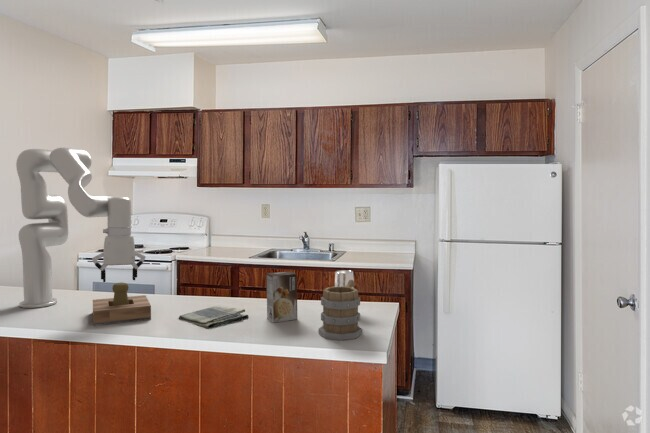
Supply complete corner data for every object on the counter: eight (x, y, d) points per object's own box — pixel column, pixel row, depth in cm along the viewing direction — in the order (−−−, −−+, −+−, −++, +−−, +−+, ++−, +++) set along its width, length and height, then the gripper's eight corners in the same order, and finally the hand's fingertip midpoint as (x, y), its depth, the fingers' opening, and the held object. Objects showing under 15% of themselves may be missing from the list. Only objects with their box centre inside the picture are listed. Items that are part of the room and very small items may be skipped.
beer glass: (356, 311, 177) (356, 270, 176) (349, 315, 170) (349, 273, 170) (339, 309, 180) (339, 269, 179) (331, 313, 173) (331, 272, 173)
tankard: (352, 342, 141) (353, 292, 140) (313, 337, 145) (313, 288, 145) (372, 324, 159) (373, 280, 158) (337, 320, 164) (337, 277, 163)
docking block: (93, 312, 173) (92, 299, 172) (145, 307, 181) (145, 295, 180) (93, 325, 157) (92, 311, 156) (151, 319, 164) (150, 305, 164)
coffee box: (290, 315, 170) (290, 270, 169) (297, 319, 165) (297, 273, 164) (266, 318, 166) (266, 272, 165) (272, 323, 160) (272, 275, 160)
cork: (123, 316, 165) (122, 285, 164) (107, 315, 166) (107, 284, 166) (133, 312, 171) (133, 281, 170) (119, 311, 172) (118, 281, 172)
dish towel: (176, 320, 165) (176, 311, 165) (219, 310, 179) (219, 302, 179) (208, 330, 153) (208, 320, 153) (251, 319, 167) (251, 310, 167)
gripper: (91, 233, 160) (92, 284, 161) (146, 233, 167) (146, 281, 169) (91, 231, 167) (91, 280, 168) (144, 230, 174) (144, 277, 175)
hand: (119, 280), depth 168 cm, fingers open, 9 cm apart
